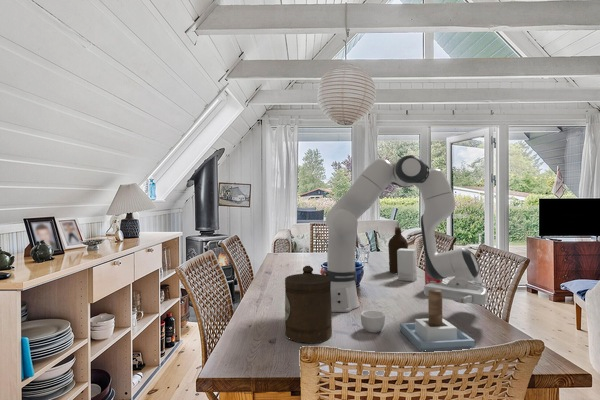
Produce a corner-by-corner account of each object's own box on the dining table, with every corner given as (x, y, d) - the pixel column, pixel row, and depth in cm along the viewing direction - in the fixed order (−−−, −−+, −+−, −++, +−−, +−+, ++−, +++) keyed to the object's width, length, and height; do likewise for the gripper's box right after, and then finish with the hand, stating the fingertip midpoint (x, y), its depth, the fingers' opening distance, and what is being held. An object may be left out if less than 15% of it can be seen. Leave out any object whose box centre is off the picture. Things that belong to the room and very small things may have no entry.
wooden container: (296, 324, 130) (295, 260, 129) (337, 329, 124) (337, 263, 123) (277, 339, 116) (276, 269, 115) (322, 347, 110) (322, 272, 110)
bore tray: (421, 352, 106) (421, 334, 106) (400, 331, 122) (400, 315, 122) (474, 349, 108) (474, 331, 108) (447, 328, 124) (447, 313, 124)
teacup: (382, 336, 118) (382, 319, 118) (358, 332, 121) (358, 316, 121) (388, 325, 127) (388, 309, 127) (365, 322, 130) (365, 307, 130)
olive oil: (411, 271, 210) (410, 227, 210) (403, 275, 202) (403, 228, 202) (393, 269, 217) (393, 226, 216) (385, 272, 209) (384, 227, 208)
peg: (432, 339, 113) (432, 292, 112) (426, 334, 117) (426, 289, 116) (444, 338, 113) (444, 292, 113) (438, 333, 117) (438, 288, 117)
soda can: (442, 292, 167) (442, 263, 167) (425, 291, 168) (425, 263, 168) (440, 288, 174) (440, 260, 174) (424, 287, 175) (423, 260, 175)
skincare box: (417, 279, 192) (417, 249, 192) (413, 282, 187) (413, 250, 186) (400, 277, 197) (400, 247, 196) (396, 280, 191) (396, 249, 191)
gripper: (431, 276, 141) (416, 284, 130) (491, 284, 128) (480, 293, 117) (431, 293, 141) (417, 302, 130) (491, 303, 128) (480, 313, 117)
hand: (447, 298), depth 124 cm, fingers open, 8 cm apart
